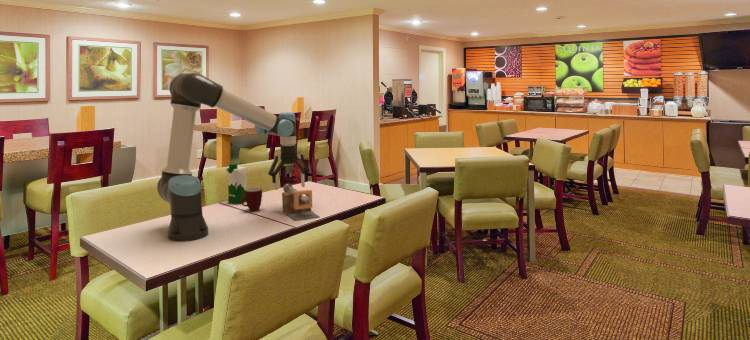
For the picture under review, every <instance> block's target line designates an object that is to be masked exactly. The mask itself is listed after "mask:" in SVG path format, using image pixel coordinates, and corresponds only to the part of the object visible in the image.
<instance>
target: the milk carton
mask: <svg viewBox="0 0 750 340" xmlns="http://www.w3.org/2000/svg"><path fill="white" fill-rule="evenodd" d="M247 172H248V167H245V166H240V165H239V166H238V163H230V164H228V167H226V168H225V173H226V177H227V188H228V189H227V190H228V198H227V199H228V200H227V203H229V204H234V205H240V204H241V199H242V197H244V196H245V189H248V187H247V186H248V185H247ZM245 203H246V198H245V199H244V200H243V204H245ZM241 205H242V204H241Z"/></svg>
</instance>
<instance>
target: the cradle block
mask: <svg viewBox="0 0 750 340" xmlns="http://www.w3.org/2000/svg"><path fill="white" fill-rule="evenodd" d="M299 191H301V190H300V189H299ZM305 195H306V196H307V194H305ZM281 202H282V203H281V204H282V213H283V214H285V215H286V216H287V214H292V213H300V212H307V211H312V208H305V209H297V210H295V209H294V195H293V193H292V192H284V191H283V192H281ZM300 204H307V202H303V201H302V200H300V199H299V205H300Z"/></svg>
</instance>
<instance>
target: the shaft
mask: <svg viewBox="0 0 750 340" xmlns="http://www.w3.org/2000/svg"><path fill="white" fill-rule="evenodd" d="M282 190H283V192H292V193H293V191H299V190H297V189H296V188H294V186H293V185H292V184H291V183H285V184H284V185H283V188H282ZM299 199H300V200H302V201H303V202H308V201H309V197H308V196H306V195H299Z"/></svg>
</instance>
